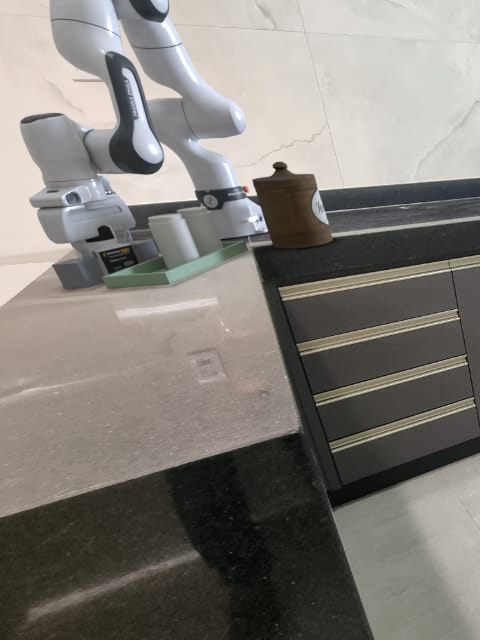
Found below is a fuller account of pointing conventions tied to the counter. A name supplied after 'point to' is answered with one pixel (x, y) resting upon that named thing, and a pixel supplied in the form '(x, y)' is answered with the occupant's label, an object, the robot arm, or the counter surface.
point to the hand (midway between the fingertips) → (107, 255)
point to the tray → (160, 275)
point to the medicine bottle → (110, 251)
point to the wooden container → (292, 209)
